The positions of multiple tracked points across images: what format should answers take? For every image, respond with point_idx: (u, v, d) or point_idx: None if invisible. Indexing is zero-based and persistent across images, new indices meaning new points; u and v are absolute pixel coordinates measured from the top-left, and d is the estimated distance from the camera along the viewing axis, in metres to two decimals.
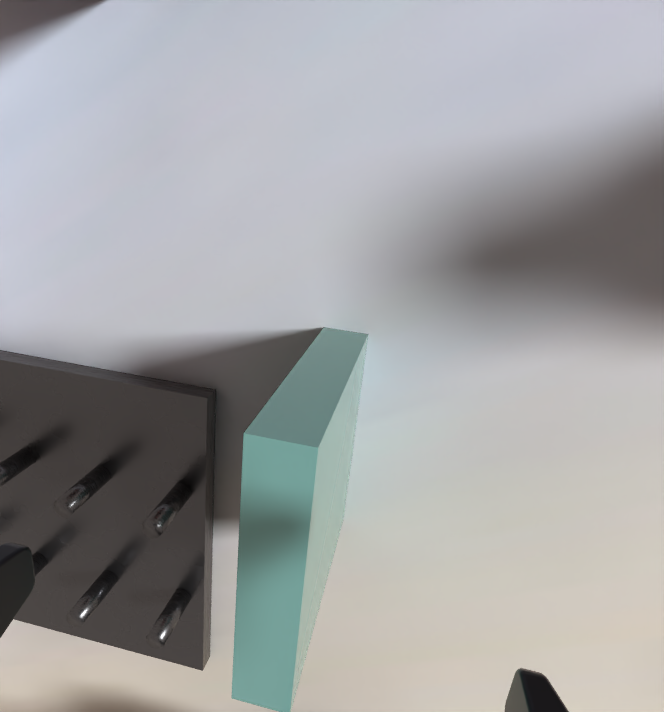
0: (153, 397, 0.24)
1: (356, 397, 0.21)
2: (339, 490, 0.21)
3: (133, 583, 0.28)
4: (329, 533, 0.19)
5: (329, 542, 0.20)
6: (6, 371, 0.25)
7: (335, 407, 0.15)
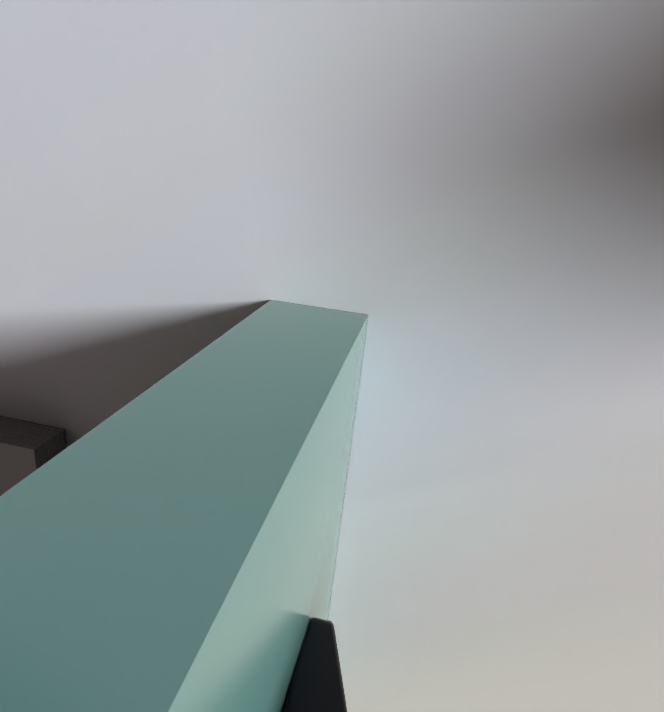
0: None
1: (340, 460, 0.09)
2: None
3: None
4: None
5: None
6: None
7: (194, 653, 0.03)
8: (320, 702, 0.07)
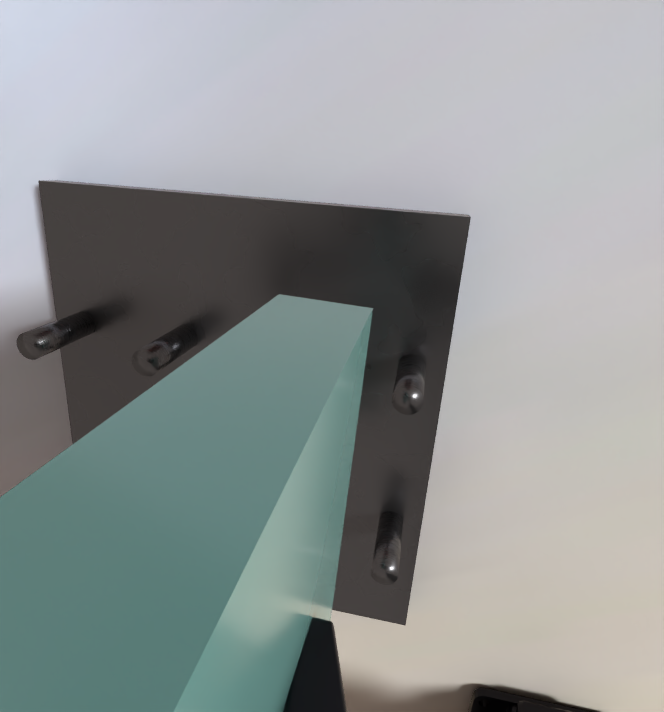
0: (386, 225, 0.17)
1: (346, 447, 0.10)
2: None
3: None
4: None
5: None
6: (168, 208, 0.18)
7: (232, 588, 0.03)
8: (320, 702, 0.07)
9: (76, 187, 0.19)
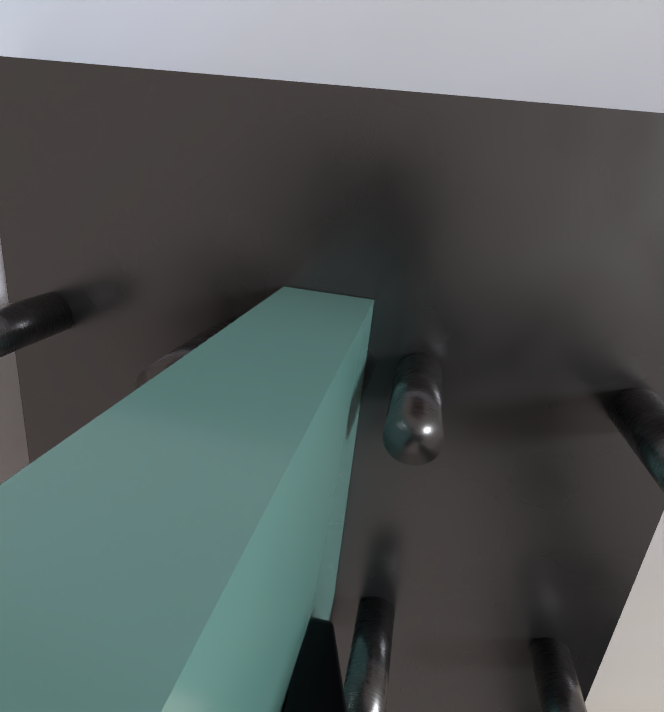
0: (635, 142, 0.09)
1: (349, 432, 0.10)
2: None
3: (431, 626, 0.13)
4: None
5: None
6: (209, 107, 0.10)
7: (251, 532, 0.04)
8: (320, 702, 0.07)
9: (44, 67, 0.10)
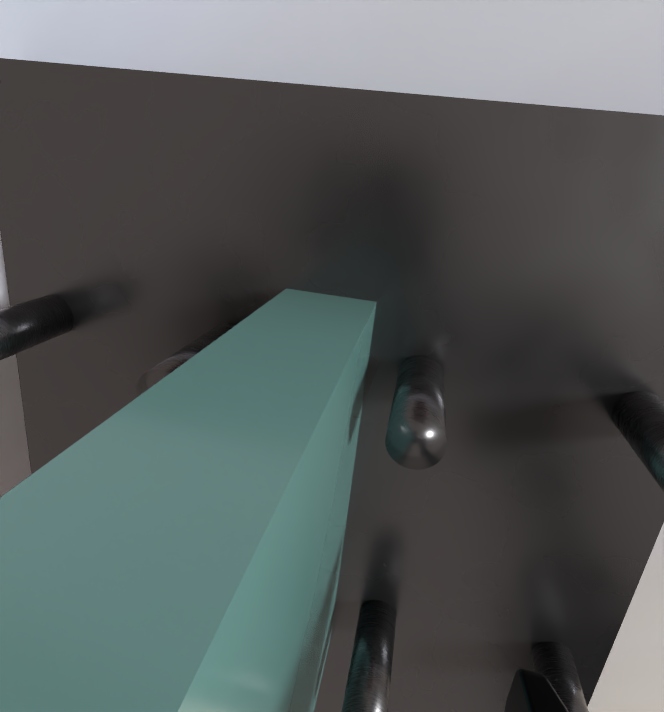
0: (639, 145, 0.09)
1: (351, 434, 0.10)
2: (314, 643, 0.09)
3: (433, 629, 0.13)
4: None
5: None
6: (211, 110, 0.10)
7: (259, 538, 0.04)
8: None
9: (46, 69, 0.10)
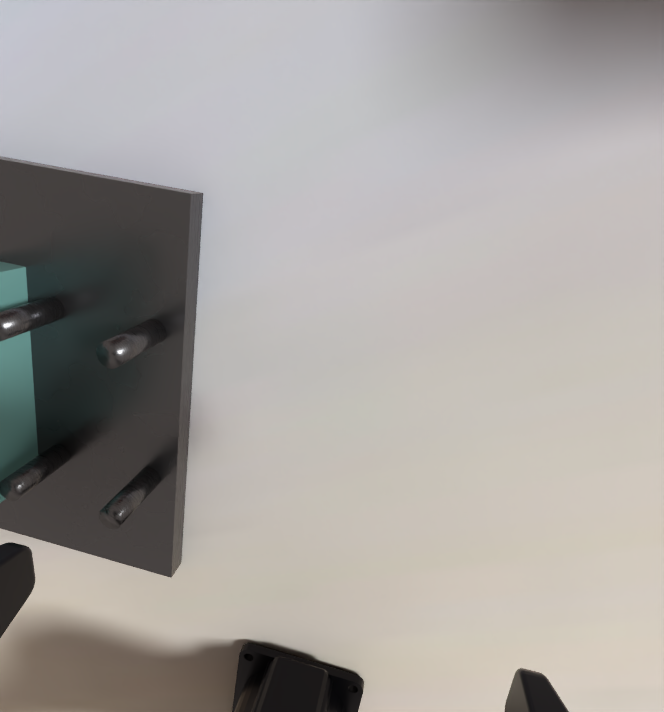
0: (121, 195, 0.18)
1: None
2: None
3: (89, 462, 0.23)
4: None
5: None
6: None
7: None
8: None
9: None
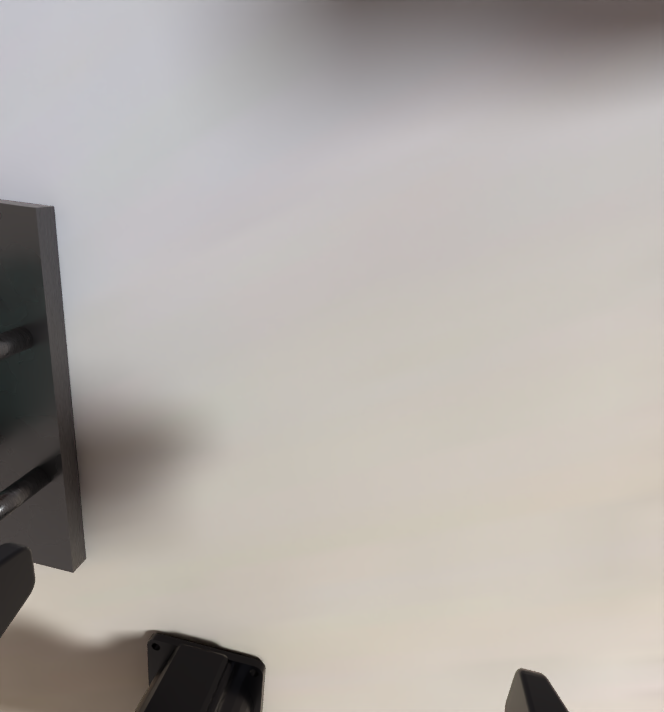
0: None
1: None
2: None
3: None
4: None
5: None
6: None
7: None
8: None
9: None
